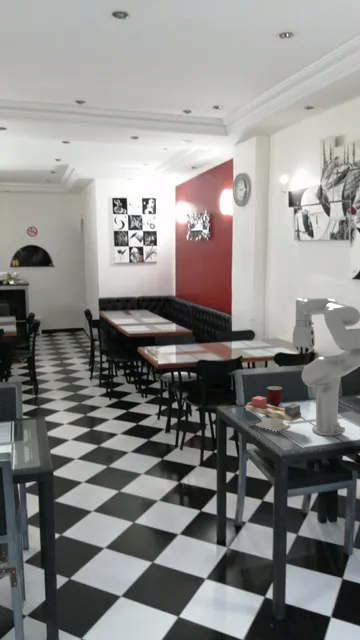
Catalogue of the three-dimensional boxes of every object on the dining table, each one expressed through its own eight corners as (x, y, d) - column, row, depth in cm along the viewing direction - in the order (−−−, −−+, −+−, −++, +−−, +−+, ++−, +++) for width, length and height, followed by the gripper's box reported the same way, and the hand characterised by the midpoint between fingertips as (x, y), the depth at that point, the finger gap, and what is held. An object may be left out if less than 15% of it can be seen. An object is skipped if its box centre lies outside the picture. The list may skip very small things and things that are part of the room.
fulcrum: (289, 426, 242) (290, 415, 241) (276, 432, 234) (276, 420, 234) (269, 420, 251) (269, 410, 250) (255, 426, 243) (255, 415, 242)
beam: (301, 418, 236) (302, 404, 235) (290, 423, 229) (290, 408, 228) (256, 407, 254) (256, 394, 253) (244, 411, 248) (244, 397, 247)
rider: (266, 407, 247) (266, 397, 247) (260, 410, 244) (260, 399, 243) (257, 405, 251) (257, 395, 250) (251, 408, 247) (251, 398, 247)
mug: (278, 410, 267) (278, 391, 266) (263, 408, 270) (263, 390, 269) (283, 405, 276) (283, 386, 275) (269, 403, 280) (269, 385, 278)
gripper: (321, 324, 244) (320, 361, 246) (294, 321, 255) (294, 357, 257) (312, 325, 239) (312, 364, 241) (285, 323, 249) (285, 360, 252)
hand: (302, 360), depth 249 cm, fingers closed
